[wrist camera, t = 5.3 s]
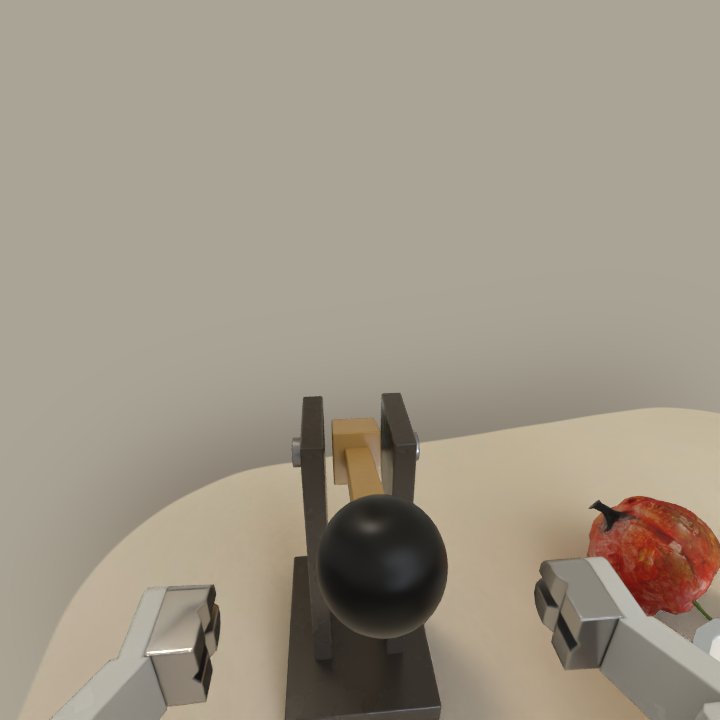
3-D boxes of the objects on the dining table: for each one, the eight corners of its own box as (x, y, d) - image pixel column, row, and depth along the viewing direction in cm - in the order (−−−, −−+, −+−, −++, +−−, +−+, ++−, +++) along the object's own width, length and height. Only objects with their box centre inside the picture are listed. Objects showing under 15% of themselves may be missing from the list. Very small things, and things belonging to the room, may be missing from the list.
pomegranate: (670, 585, 33) (573, 479, 35) (781, 570, 28) (660, 444, 29) (646, 672, 28) (536, 545, 30) (774, 675, 23) (630, 519, 24)
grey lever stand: (439, 720, 23) (472, 486, 17) (286, 736, 23) (254, 499, 16) (406, 561, 32) (418, 366, 26) (295, 569, 32) (277, 372, 25)
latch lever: (466, 667, 10) (465, 525, 10) (317, 680, 10) (311, 535, 10) (387, 471, 23) (385, 407, 23) (321, 475, 23) (319, 410, 23)
